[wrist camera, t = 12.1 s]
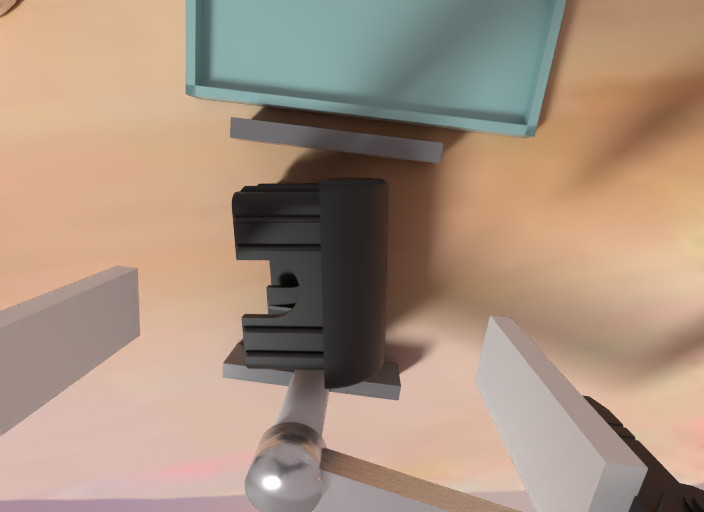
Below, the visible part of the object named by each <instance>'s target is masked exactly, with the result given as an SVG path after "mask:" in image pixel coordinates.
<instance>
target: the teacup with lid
mask: <svg viewBox="0 0 704 512" xmlns="http://www.w3.org/2000/svg"><path fill="white" fill-rule="evenodd" d="M16 1H17V0H0V16H1V15H2V14H4V13H5V12H6V11H8V10H9V9H10V8H11V7H12V6H13V5H14V4H15V2H16Z"/></svg>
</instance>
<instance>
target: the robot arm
mask: <svg viewBox="0 0 704 512" xmlns="http://www.w3.org/2000/svg"><path fill="white" fill-rule="evenodd" d="M138 336H140V325H139V295H138V268H132V267H124V266H115V267H113V268H110V269H108V270H105V271H103V272H100V273H97V274H95V275H92V276H90V277H87V278H85V279H82V280H79V281H77V282H74V283H72V284H69V285H67V286H64V287H61V288H59V289H56V290H54V291H51V292H49V293H46V294H43V295H41V296H38V297H36V298H33V299H31V300H28V301H25V302H23V303H20V304H18V305H15V306H13V307H10V308H7V309H5V310H2V311H0V436H2V435H3V434H4V433H6V432H7V431H8V430H10V429H11V428H13V427H14V426H15V425H17V424H18V423H19V422H21V421H22V420H24V419H25V418H26V417H28V416H29V415H30V414H32V413H33V412H35V411H36V410H37V409H39V408H40V407H42V406H43V405H44V404H46V403H47V402H48V401H50V400H51V399H53V398H54V397H55V396H57V395H58V394H59V393H61V392H62V391H64V390H65V389H66V388H68V387H69V386H71V385H72V384H73V383H75V382H76V381H77V380H79V379H80V378H82V377H83V376H84V375H86V374H87V373H88V372H90V371H91V370H93V369H94V368H95V367H97V366H98V365H99V364H101V363H102V362H104V361H105V360H106V359H108V358H109V357H111V356H112V355H113V354H115V353H116V352H117V351H119V350H120V349H122V348H123V347H124V346H126V345H127V344H128V343H130V342H131V341H133V340H134V339H135V338H137V337H138ZM475 383H476V385H477V387H478V390H479V392H480V394H481V396H482V398H483V400H484V402H485V404H486V407H487V409H488V411H489V413H490V415H491V417H492V419H493V421H494V424H495V426H496V428H497V430H498V432H499V434H500V436H501V438H502V441H503V443H504V445H505V447H506V449H507V451H508V453H509V455H510V457H511V460H512V462H513V464H514V466H515V468H516V470H517V472H518V474H519V477H520V479H521V481H522V483H523V485H524V487H525V489H526V491H527V494H528V496H529V498H530V500H531V502H532V504H533V506H534V508H535V510H536V512H704V491H703V490H701V489H699V488H696V487H694V486H691V485H686V484H681V483H679V482H678V481H677V480H676V479H675V478H674V477H673V476H672V475H671V474H670V473H669V472H668V471H667V470H666V469H665V468H664V467H663V465H662V464H661V463H660V462H659V461H658V460H657V459H656V458H655V457H654V456H653V455H652V454H651V453H650V452H649V451H648V450H647V449H646V448H645V447H644V446H643V445H642V444H641V443H640V442H639V441H638V440H635V437H634V435H633V434H632V433H631V432H630V431H629V430H628V429H627V428H624V427H623V424H622V423H621V422H620V421H619V420H618V419H617V418H616V417H615V416H614V415H613V414H612V413H611V412H610V411H609V410H608V409H607V408H605V407H604V406H602V405H601V404H599V403H598V402H597V401H595V400H594V399H592V398H591V397H589V396H582V395H581V394H580V393H579V392H578V391H577V390H576V388H575V387H574V386H573V385H572V384H571V383H570V382H569V381H568V380H567V379H566V378H565V376H564V375H563V374H562V373H561V372H560V371H559V370H558V369H557V368H556V367H555V365H554V364H553V363H552V362H551V361H550V360H549V359H548V358H547V357H546V356H545V354H544V353H543V352H542V351H541V350H540V349H539V348H538V347H537V346H536V345H535V343H534V342H533V341H532V340H531V339H530V338H529V337H528V336H527V335H526V334H525V332H524V331H523V330H522V329H521V328H520V327H519V326H518V325H517V324H516V323H515V321H514V320H513V319H512V318H508V317H500V316H493V315H490V318H489V322H488V327H487V331H486V335H485V339H484V344H483V348H482V352H481V356H480V361H479V365H478V369H477V374H476V378H475Z"/></svg>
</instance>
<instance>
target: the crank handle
mask: <svg viewBox="0 0 704 512" xmlns="http://www.w3.org/2000/svg"><path fill="white" fill-rule="evenodd" d="M245 491H246V494H247V497H248V498H249V500H250V502H251V503H252V504H253V505H254V507H255V508H257V509H258V510H259V511H261V512H311V511H315V512H521V511H518V510H514V509H512V508H508V507H505V506H502V505H499V504H496V503H493V502H490V501H487V500H484V499H481V498H477V497H474V496H471V495H468V494H465V493H462V492H459V491H456V490H453V489H450V488H447V487H444V486H441V485H438V484H435V483H432V482H428V481H425V480H422V479H419V478H416V477H413V476H410V475H407V474H404V473H401V472H398V471H395V470H392V469H388V468H385V467H382V466H379V465H376V464H373V463H370V462H367V461H364V460H361V459H358V458H355V457H352V456H348V455H345V454H342V453H339V452H336V451H333V450H330V449H327V448H326V444H325V442H324V440H323V438H322V437H321V436H320V435H319V433H318V432H316V431H315V430H314V429H312V428H311V427H309V426H307V425H304V424H301V423H296V422H284V423H280V424H277V425H275V426H273V427H271V428H269V429H268V430H267V431H266V432H265V433H264V435H263V436H262V438H261V440H260V443H259V445H258V448H257V450H256V453H255V456H254V458H253V461H252V463H251V466H250V468H249V471H248V474H247V476H246V480H245Z"/></svg>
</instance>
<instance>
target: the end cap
mask: <svg viewBox="0 0 704 512" xmlns="http://www.w3.org/2000/svg"><path fill="white" fill-rule="evenodd" d="M232 214H233V225H234V237H235V248H236V260H270V270H271V285H268V287H267V302H268V314H244V316H243V317H242V328H243V339H244V351H245V362H246V367H247V368H248V369H282V370H324V387H325V389H338V388H344V387H349V386H353V385H356V384H359V383H361V382H364V381H366V380H368V379H369V378H371V377H372V376H374V375H375V374H376V373H377V372H378V371H379V370H380V369H381V367H382V365H383V363H384V359H385V325H386V274H387V224H388V183H387V181H385V180H383V179H374V178H330V179H327V180H325V181H322V182H320V183H309V184H258V185H257V186H245V187H244V188H243V189H242V190H241V191H239V192H235V193H234V195H233V198H232Z"/></svg>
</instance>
